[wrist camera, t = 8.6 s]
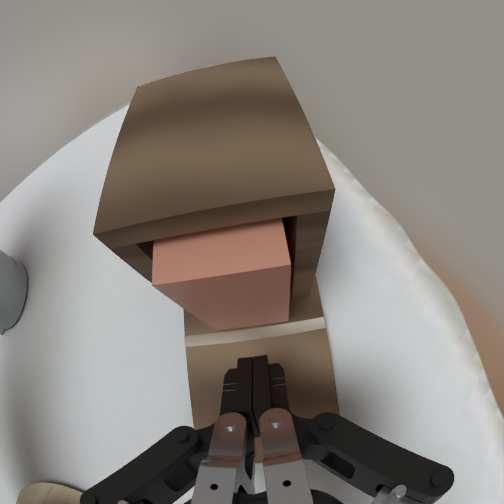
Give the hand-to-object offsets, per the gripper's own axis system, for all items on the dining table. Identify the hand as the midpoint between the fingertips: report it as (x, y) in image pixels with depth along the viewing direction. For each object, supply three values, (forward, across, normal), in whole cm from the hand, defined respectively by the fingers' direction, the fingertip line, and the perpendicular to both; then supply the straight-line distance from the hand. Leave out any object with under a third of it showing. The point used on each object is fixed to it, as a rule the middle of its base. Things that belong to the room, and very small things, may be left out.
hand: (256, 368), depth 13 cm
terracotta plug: (+7, 0, +1) cm, 7 cm away
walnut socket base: (+6, 0, -2) cm, 7 cm away
